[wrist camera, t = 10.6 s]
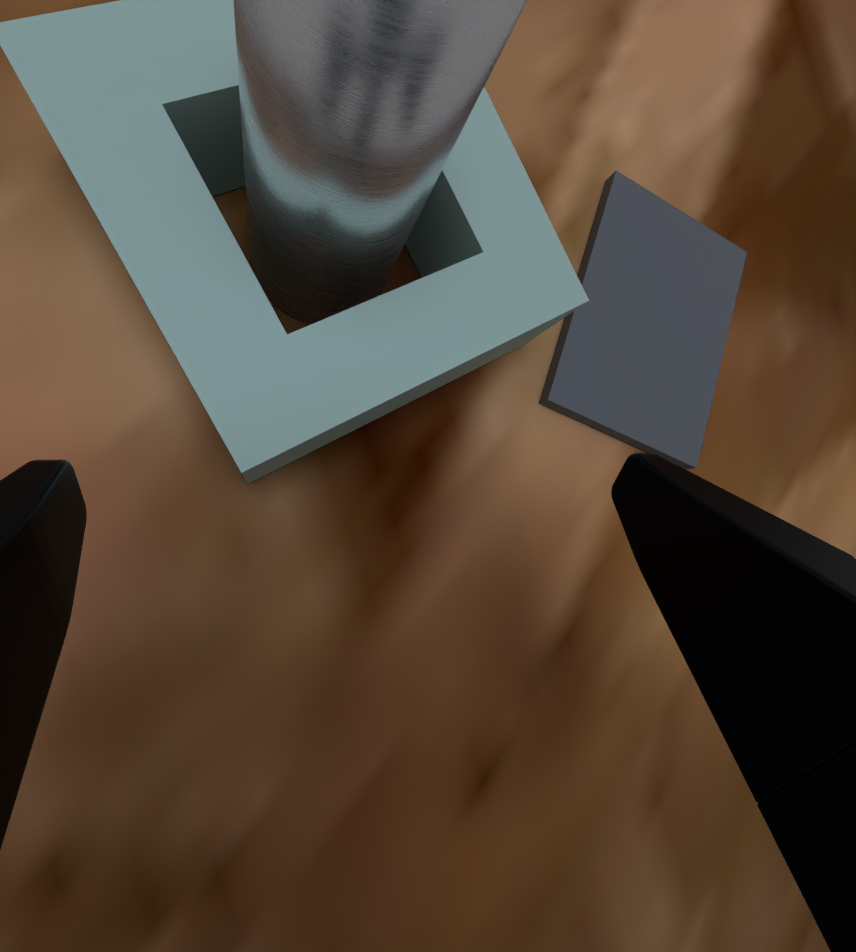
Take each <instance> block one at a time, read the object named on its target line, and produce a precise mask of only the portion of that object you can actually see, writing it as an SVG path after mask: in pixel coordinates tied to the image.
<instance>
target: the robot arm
mask: <svg viewBox="0 0 856 952" xmlns="http://www.w3.org/2000/svg"><path fill="white" fill-rule="evenodd" d="M611 494H612V499H613V502H614V505H615V507H616V510H617V513H618V515H619V518H620V520H621V523H622V526H623V528H624V531H625V533H626V536H627V539H628V541H629V544H630V546H631V549H632V552H633V554H634V557H635V559H636V562H637V564H638V566H639V569H640V571H641V573H642V575H643V577H644V579H645V581H646V583H647V585H648V587H649V589H650V591H651V593H652V595H653V597H654V599H655V601H656V603H657V605H658V607H659V609H660V611H661V613H662V615H663V617H664V619H665V621H666V623H667V625H668V627H669V629H670V631H671V633H672V635H673V637H674V639H675V641H676V643H677V645H678V647H679V649H680V651H681V653H682V655H683V657H684V659H685V661H686V663H687V665H688V667H689V669H690V671H691V673H692V675H693V677H694V679H695V681H696V683H697V685H698V687H699V689H700V691H701V693H702V695H703V697H704V699H705V701H706V703H707V705H708V707H709V709H710V711H711V713H712V715H713V717H714V719H715V721H716V723H717V725H718V727H719V729H720V731H721V733H722V735H723V737H724V739H725V741H726V743H727V745H728V747H729V749H730V751H731V753H732V755H733V757H734V759H735V761H736V763H737V764H738V766H739V768H740V770H741V772H742V774H743V776H744V778H745V780H746V782H747V784H748V786H749V788H750V790H751V792H752V794H753V796H754V798H755V800H756V802H758V807H759V809H760V811H761V813H762V815H763V817H764V819H765V821H766V823H767V825H768V827H769V829H770V831H771V833H772V835H773V837H774V839H775V841H776V843H777V845H778V847H779V849H780V851H781V853H782V855H783V857H784V859H785V861H786V863H787V865H788V867H789V869H790V871H791V873H792V875H793V877H794V879H795V881H796V883H797V885H798V887H799V889H800V891H801V893H802V895H803V897H804V899H805V901H806V903H807V905H808V907H809V909H810V911H811V913H812V915H813V917H814V919H815V921H816V923H817V925H818V927H819V929H820V931H821V933H822V935H823V937H824V939H825V941H826V943H827V945H828V947H829V949H830V951H831V952H856V559H855V558H854V557H853V556H851V555H850V554H848V553H846V552H844V551H842V550H840V549H838V548H836V547H834V546H832V545H830V544H828V543H826V542H824V541H822V540H821V539H819V538H817V537H815V536H813V535H811V534H809V533H807V532H805V531H803V530H801V529H799V528H797V527H795V526H793V525H792V524H790V523H788V522H786V521H784V520H782V519H780V518H778V517H776V516H774V515H772V514H770V513H768V512H766V511H764V510H763V509H761V508H759V507H757V506H755V505H753V504H751V503H749V502H747V501H745V500H743V499H741V498H739V497H737V496H735V495H734V494H732V493H730V492H728V491H726V490H724V489H722V488H720V487H718V486H716V485H714V484H712V483H710V482H708V481H706V480H705V479H703V478H701V477H699V476H697V475H695V474H693V473H691V472H689V471H687V470H685V469H683V468H681V467H679V466H677V465H676V464H674V463H672V462H670V461H668V460H666V459H664V458H662V457H660V456H658V455H656V454H653V453H634V454H631V455H630V456H629V457H628V458H627V460H626V461H625V463H624V465H623V467H622V469H621V471H620V473H619V474H618V476H617V478H616V480H615V482H614V484H613V486H612V492H611ZM85 526H86V506H85V502H84V499H83V496H82V493H81V490H80V487H79V484H78V481H77V478H76V474H75V471H74V469H73V467H72V465H71V464H70V463H69V462H68V461H66V460H33V461H30V462H28V463H26V464H25V465H23V466H22V467H20V468H19V469H17V470H16V471H14V472H12V473H11V474H9V475H8V476H6V477H5V478H3V479H2V480H0V849H1V846H2V843H3V840H4V836H5V833H6V830H7V826H8V823H9V820H10V817H11V813H12V810H13V807H14V803H15V800H16V797H17V794H18V790H19V787H20V784H21V781H22V777H23V774H24V771H25V767H26V764H27V761H28V758H29V754H30V751H31V748H32V744H33V741H34V738H35V735H36V731H37V728H38V725H39V721H40V718H41V715H42V712H43V708H44V705H45V702H46V699H47V695H48V692H49V689H50V685H51V682H52V679H53V676H54V672H55V669H56V666H57V662H58V659H59V656H60V653H61V649H62V646H63V643H64V639H65V636H66V632H67V629H68V625H69V621H70V617H71V612H72V606H73V601H74V594H75V588H76V582H77V576H78V569H79V563H80V557H81V551H82V544H83V538H84V532H85Z"/></svg>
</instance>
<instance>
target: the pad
mask: <svg viewBox="0 0 856 952" xmlns="http://www.w3.org/2000/svg"><path fill="white" fill-rule="evenodd" d="M746 254H747V252H746V251H744V250H743V249H741V248H739V247H738V246H736V245H735V244H733V243H731V242H730V241H728V240H727V239H725V238H723V237H722V236H720V235H719V234H717V233H715V232H714V231H712V230H711V229H709V228H707V227H706V226H704V225H703V224H701V223H699V222H698V221H696V220H695V219H693V218H691V217H690V216H688V215H687V214H685V213H683V212H682V211H680V210H679V209H677V208H675V207H674V206H672V205H671V204H669V203H667V202H666V201H664V200H663V199H661V198H659V197H658V196H656V195H655V194H653V193H651V192H650V191H648V190H647V189H645V188H643V187H642V186H640V185H639V184H637V183H635V182H634V181H632V180H631V179H629V178H627V177H626V176H624V175H623V174H621V173H619V172H618V171H615V172H614V173H613V174H612V175H611V176H610V177H609V178H608V179H607V180H606V183H605V187H604V190H603V193H602V197H601V200H600V203H599V207H598V210H597V213H596V217H595V220H594V223H593V227H592V230H591V233H590V237H589V240H588V243H587V247H586V250H585V253H584V257H583V260H582V263H581V267H580V270H579V273H578V279H579V281H580V283H581V285H582V287H583V289H584V291H585V293H586V295H587V297H588V299H589V301H588V302H586V303H585V304H583V305H582V306H581V307H579V308H578V309H576V310H575V311H573V312H572V313H570V314H569V315H567V316H566V317H565V320H564V323H563V327H562V330H561V333H560V337H559V340H558V343H557V347H556V350H555V353H554V357H553V360H552V363H551V367H550V370H549V373H548V377H547V380H546V383H545V387H544V390H543V393H542V397H541V400H540V404H542V405H545V406H547V407H549V408H551V409H553V410H556V411H558V412H560V413H562V414H564V415H566V416H569V417H571V418H573V419H575V420H577V421H580V422H582V423H584V424H586V425H588V426H591V427H593V428H595V429H597V430H599V431H602V432H604V433H606V434H608V435H610V436H612V437H615V438H617V439H619V440H621V441H623V442H626V443H628V444H630V445H632V446H634V447H637V448H639V449H641V450H643V451H645V452H648V453H653V454H656V455H658V456H660V457H662V458H664V459H666V460H668V461H670V462H672V463H674V464H676V465H677V466H679V467H681V468H683V469H693V468H697V464H698V459H699V455H700V451H701V447H702V442H703V438H704V434H705V429H706V425H707V421H708V417H709V412H710V408H711V404H712V400H713V395H714V391H715V387H716V382H717V378H718V374H719V370H720V365H721V361H722V357H723V353H724V348H725V344H726V340H727V335H728V331H729V327H730V323H731V318H732V314H733V310H734V306H735V301H736V297H737V293H738V288H739V284H740V280H741V276H742V271H743V267H744V263H745V259H746Z"/></svg>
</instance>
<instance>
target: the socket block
mask: <svg viewBox="0 0 856 952" xmlns="http://www.w3.org/2000/svg"><path fill="white" fill-rule="evenodd" d="M0 46H1V47H2V49H3V51H4V53H5V54H6V56H7V58H8V60H9V61H10V63H11V65H12V67H13V69H14V70H15V72H16V74H17V76H18V77H19V79H20V81H21V83H22V85H23V86H24V88H25V90H26V92H27V93H28V95H29V97H30V99H31V101H32V102H33V104H34V106H35V108H36V109H37V111H38V113H39V115H40V117H41V118H42V120H43V122H44V124H45V125H46V127H47V129H48V131H49V133H50V134H51V136H52V138H53V140H54V141H55V143H56V145H57V147H58V149H59V150H60V152H61V154H62V156H63V157H64V159H65V161H66V163H67V165H68V166H69V168H70V170H71V172H72V173H73V175H74V177H75V179H76V180H77V182H78V184H79V186H80V188H81V189H82V191H83V193H84V195H85V196H86V198H87V200H88V202H89V204H90V205H91V207H92V209H93V211H94V212H95V214H96V216H97V218H98V220H99V221H100V223H101V225H102V227H103V228H104V230H105V232H106V234H107V235H108V237H109V239H110V241H111V243H112V244H113V246H114V248H115V250H116V251H117V253H118V255H119V257H120V259H121V260H122V262H123V264H124V266H125V267H126V269H127V271H128V273H129V274H130V276H131V278H132V280H133V282H134V283H135V285H136V287H137V289H138V290H139V292H140V294H141V296H142V298H143V299H144V301H145V303H146V305H147V306H148V308H149V310H150V312H151V314H152V315H153V317H154V319H155V321H156V322H157V324H158V326H159V328H160V329H161V331H162V333H163V335H164V337H165V338H166V340H167V342H168V344H169V345H170V347H171V349H172V351H173V353H174V354H175V356H176V358H177V360H178V361H179V363H180V365H181V367H182V369H183V370H184V372H185V374H186V376H187V377H188V379H189V381H190V383H191V384H192V386H193V388H194V390H195V392H196V393H197V395H198V397H199V399H200V400H201V402H202V404H203V406H204V408H205V409H206V411H207V413H208V415H209V416H210V418H211V420H212V422H213V424H214V425H215V427H216V429H217V431H218V432H219V434H220V436H221V438H222V439H223V441H224V443H225V445H226V447H227V448H228V450H229V452H230V454H231V455H232V457H233V459H234V461H235V463H236V464H237V466H238V468H239V470H240V471H241V473H242V475H243V477H244V478H245V480H246V482H247V484H249V483H251V482H253V481H255V480H257V479H259V478H261V477H263V476H264V475H266V474H268V473H270V472H272V471H274V470H276V469H278V468H280V467H282V466H284V465H286V464H288V463H290V462H292V461H294V460H296V459H298V458H300V457H302V456H304V455H306V454H308V453H310V452H312V451H314V450H316V449H318V448H320V447H322V446H324V445H326V444H328V443H330V442H332V441H334V440H336V439H338V438H340V437H342V436H344V435H346V434H348V433H350V432H352V431H354V430H356V429H358V428H360V427H362V426H364V425H366V424H368V423H370V422H372V421H374V420H376V419H378V418H379V417H381V416H383V415H385V414H387V413H389V412H391V411H393V410H395V409H397V408H399V407H401V406H403V405H405V404H407V403H409V402H411V401H413V400H415V399H417V398H419V397H421V396H423V395H425V394H427V393H429V392H431V391H433V390H435V389H437V388H439V387H441V386H443V385H445V384H447V383H449V382H451V381H453V380H455V379H457V378H459V377H461V376H463V375H465V374H467V373H469V372H471V371H473V370H475V369H477V368H479V367H481V366H483V365H485V364H487V363H489V362H491V361H493V360H494V359H496V358H498V357H500V356H502V355H504V354H506V353H508V352H510V351H512V350H514V349H516V348H518V347H520V346H522V345H524V344H526V343H527V342H529V341H530V340H532V339H533V338H535V337H536V336H538V335H539V334H541V333H542V332H544V331H545V330H547V329H548V328H549V327H551V326H552V325H554V324H555V323H557V322H558V321H560V320H561V319H563V318H564V317H566V316H567V315H569V314H570V313H572V312H573V311H575V310H576V309H578V308H579V307H581V306H582V305H583V304H585V303H586V302H588V301H589V299H588V297H587V295H586V293H585V291H584V289H583V287H582V285H581V283H580V281H579V279H578V277H577V275H576V273H575V271H574V269H573V267H572V264H571V262H570V260H569V258H568V256H567V254H566V252H565V250H564V248H563V246H562V244H561V242H560V240H559V238H558V236H557V234H556V232H555V230H554V228H553V226H552V224H551V222H550V220H549V218H548V216H547V214H546V212H545V210H544V207H543V205H542V203H541V201H540V199H539V197H538V195H537V193H536V191H535V189H534V187H533V185H532V183H531V181H530V179H529V177H528V175H527V173H526V171H525V169H524V167H523V165H522V163H521V161H520V159H519V157H518V155H517V153H516V150H515V148H514V146H513V144H512V142H511V140H510V138H509V136H508V134H507V132H506V130H505V128H504V126H503V124H502V122H501V120H500V118H499V116H498V114H497V112H496V110H495V108H494V106H493V104H492V102H491V100H490V98H489V96H488V93H487V91H486V89H485V87H484V88H483V89H482V91H481V93H480V95H479V97H478V99H477V101H476V103H475V105H474V107H473V109H472V111H471V113H470V115H469V117H468V119H467V121H466V123H465V125H464V127H463V129H462V131H461V133H460V135H459V137H458V139H457V141H456V143H455V145H454V147H453V149H452V151H451V153H450V155H449V157H448V159H447V161H446V163H445V165H444V167H443V169H442V171H441V173H440V175H439V177H438V179H437V181H436V183H435V185H434V187H433V189H432V191H431V193H430V195H429V197H428V199H427V201H426V203H425V205H424V207H423V209H422V211H421V213H420V215H419V217H418V219H417V221H416V223H415V225H414V227H413V229H412V231H411V233H410V235H409V237H408V239H407V241H406V243H405V246H406V248H407V250H408V252H409V254H410V255H411V257H412V259H413V261H414V263H415V265H416V267H417V269H418V271H419V273H420V275H421V277H422V278H421V279H418V280H416V281H413V282H411V283H409V284H406V285H404V286H402V287H399V288H397V289H394V290H392V291H390V292H387V293H385V294H383V295H380V296H378V297H375V298H373V299H371V300H368V301H366V302H363V303H361V304H359V305H356V306H354V307H352V308H349V309H347V310H344V311H342V312H340V313H337V314H335V315H333V316H330V317H328V318H325V319H323V320H321V321H318V322H316V323H313V324H311V325H309V326H306V327H304V328H302V329H299V330H297V331H294V332H292V333H290V334H287V333H286V332H285V330H284V328H283V326H282V324H281V322H280V321H279V319H278V317H277V315H276V313H275V311H274V309H273V308H272V306H271V304H270V302H269V300H268V298H267V297H266V295H265V293H264V291H263V289H262V287H261V286H260V284H259V282H258V280H257V278H256V276H255V275H254V273H253V271H252V269H251V267H250V265H249V263H248V262H247V260H246V258H245V256H244V254H243V252H242V251H241V249H240V247H239V245H238V243H237V241H236V240H235V238H234V236H233V234H232V232H231V230H230V229H229V227H228V225H227V223H226V221H225V219H224V217H223V216H222V214H221V212H220V210H219V208H218V206H217V205H216V203H215V201H214V199H213V197H212V196H215V195H218V194H222V193H225V192H228V191H231V190H234V189H237V188H241V187H244V186H245V172H244V156H243V140H242V125H241V109H240V94H239V78H238V63H237V47H236V32H235V16H234V0H120V1H114V2H109V3H103V4H98V5H93V6H87V7H82V8H76V9H71V10H65V11H60V12H54V13H49V14H43V15H38V16H32V17H27V18H21V19H16V20H10V21H5V22H0Z"/></svg>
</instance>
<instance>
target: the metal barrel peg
mask: <svg viewBox="0 0 856 952" xmlns="http://www.w3.org/2000/svg"><path fill="white" fill-rule="evenodd" d="M526 2H527V0H234V16H235V32H236V47H237V63H238V78H239V94H240V109H241V125H242V140H243V156H244V172H245V187H246V203H247V218H248V234H249V249H250V260H251V266H252V270H253V273H254V275H255V276H256V278H257V280H258V282H259V284H260V286H261V287H262V289H263V291H264V293H265V295H266V296H267V297H268V299H269V300H270V301H271V302H272V303H273V304H274V305H275V306H277V307H278V308H279V309H281V310H282V311H283V312H285V313H286V314H288V315H290V316H291V317H294V318H296V319H298V320H300V321H303V322H306V323H310V324H313V323H316V322H318V321H321V320H323V319H325V318H328V317H330V316H333V315H335V314H337V313H340V312H342V311H344V310H347V309H349V308H352V307H354V306H356V305H359V304H361V303H363V302H366V301H368V300H371V299H373V298H375V297H378V296H379V294H380V292H381V290H382V288H383V286H384V284H385V282H386V280H387V278H388V276H389V274H390V272H391V270H392V268H393V266H394V264H395V262H396V260H397V259H398V257H399V255H400V253H401V251H402V249H403V247H404V245H405V243H406V241H407V239H408V237H409V235H410V233H411V231H412V229H413V227H414V225H415V223H416V221H417V219H418V217H419V215H420V213H421V211H422V209H423V207H424V205H425V203H426V201H427V199H428V197H429V195H430V193H431V191H432V189H433V187H434V185H435V183H436V181H437V179H438V177H439V175H440V173H441V171H442V169H443V167H444V165H445V163H446V161H447V159H448V157H449V155H450V153H451V151H452V149H453V147H454V145H455V143H456V141H457V139H458V137H459V135H460V133H461V131H462V129H463V127H464V125H465V123H466V121H467V119H468V117H469V115H470V113H471V111H472V109H473V107H474V105H475V103H476V101H477V99H478V97H479V95H480V93H481V91H482V89H483V88H484V86H485V84H486V82H487V80H488V78H489V76H490V74H491V72H492V70H493V68H494V66H495V64H496V62H497V60H498V58H499V56H500V54H501V52H502V50H503V48H504V46H505V44H506V42H507V40H508V38H509V36H510V34H511V32H512V30H513V28H514V26H515V24H516V22H517V20H518V18H519V16H520V14H521V12H522V10H523V8H524V6H525V4H526Z"/></svg>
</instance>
